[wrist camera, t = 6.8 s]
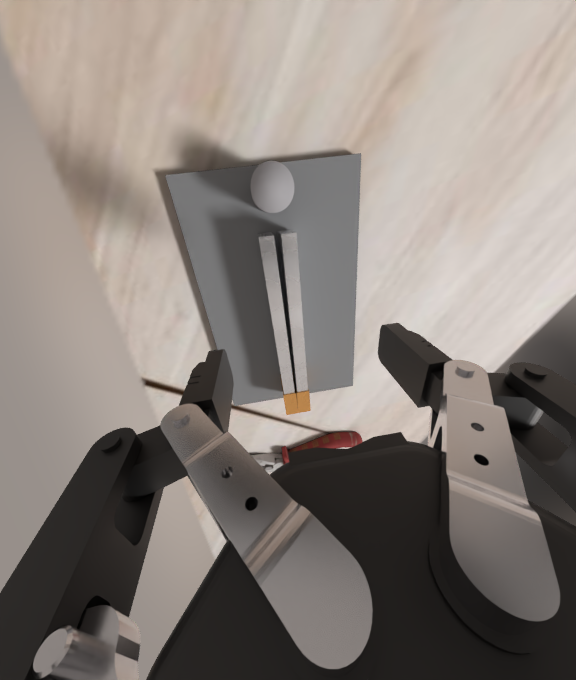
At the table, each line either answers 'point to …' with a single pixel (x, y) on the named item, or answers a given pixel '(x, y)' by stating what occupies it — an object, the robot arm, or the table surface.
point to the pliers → (328, 441)
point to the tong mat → (247, 267)
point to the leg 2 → (294, 314)
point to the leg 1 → (278, 319)
